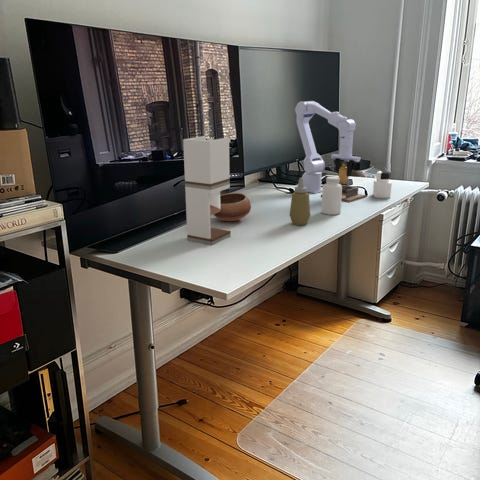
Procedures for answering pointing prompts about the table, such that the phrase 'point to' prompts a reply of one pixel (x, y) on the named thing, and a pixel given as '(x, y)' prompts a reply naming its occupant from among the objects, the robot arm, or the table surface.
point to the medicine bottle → (382, 185)
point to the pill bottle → (331, 196)
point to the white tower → (205, 186)
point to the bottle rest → (350, 194)
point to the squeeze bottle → (300, 205)
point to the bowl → (233, 207)
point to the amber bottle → (343, 174)
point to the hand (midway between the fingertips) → (344, 175)
